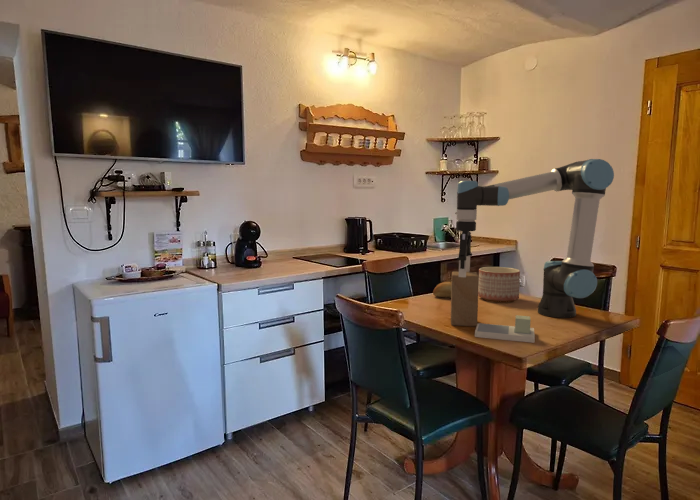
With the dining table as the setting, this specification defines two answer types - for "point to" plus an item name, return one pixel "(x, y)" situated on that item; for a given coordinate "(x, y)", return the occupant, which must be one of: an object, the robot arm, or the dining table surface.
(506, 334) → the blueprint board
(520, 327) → the sage cube
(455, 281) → the wooden block
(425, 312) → the dining table surface
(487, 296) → the planter
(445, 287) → the bread roll
